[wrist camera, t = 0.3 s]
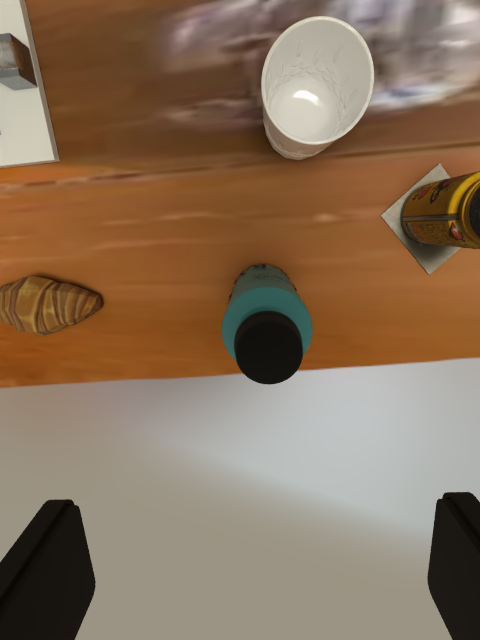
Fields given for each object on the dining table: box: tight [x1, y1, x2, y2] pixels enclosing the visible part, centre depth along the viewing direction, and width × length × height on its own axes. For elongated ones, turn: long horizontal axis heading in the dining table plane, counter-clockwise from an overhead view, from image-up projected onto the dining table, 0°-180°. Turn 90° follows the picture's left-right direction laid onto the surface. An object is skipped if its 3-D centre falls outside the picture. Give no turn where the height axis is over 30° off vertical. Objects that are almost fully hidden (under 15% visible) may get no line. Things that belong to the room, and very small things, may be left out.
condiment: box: [381, 163, 480, 275], centre depth 30 cm, size 7×8×12 cm
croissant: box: [0, 276, 102, 336], centre depth 37 cm, size 14×7×5 cm, turn 92°
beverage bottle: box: [222, 263, 312, 384], centre depth 29 cm, size 6×7×20 cm
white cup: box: [261, 16, 374, 160], centre depth 29 cm, size 8×8×10 cm
